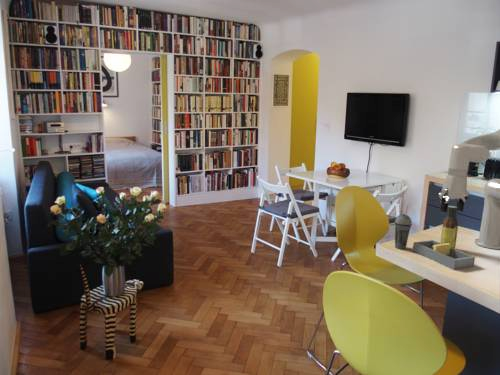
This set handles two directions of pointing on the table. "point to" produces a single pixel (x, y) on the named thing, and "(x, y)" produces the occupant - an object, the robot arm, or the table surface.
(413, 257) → the table surface
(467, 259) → the grey tray
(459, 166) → the robot arm
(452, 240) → the sauce bottle
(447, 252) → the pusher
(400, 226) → the beverage cup
